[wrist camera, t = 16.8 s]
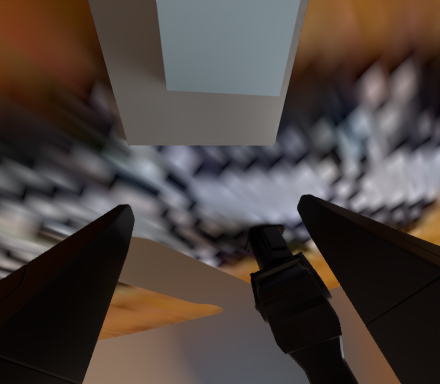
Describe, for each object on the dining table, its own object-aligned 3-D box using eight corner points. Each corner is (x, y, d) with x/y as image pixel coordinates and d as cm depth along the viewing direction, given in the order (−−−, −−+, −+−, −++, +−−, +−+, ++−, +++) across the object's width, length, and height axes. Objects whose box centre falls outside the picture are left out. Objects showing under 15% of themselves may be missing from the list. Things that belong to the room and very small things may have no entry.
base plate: (269, 142, 19) (273, 145, 18) (131, 141, 17) (128, 145, 16) (322, -95, 11) (335, -114, 10) (50, -169, 8) (30, -206, 7)
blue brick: (245, 93, 11) (279, 96, 6) (176, 90, 10) (166, 90, 6) (262, -58, 7) (354, -251, 3) (162, -79, 7) (112, -363, 2)
